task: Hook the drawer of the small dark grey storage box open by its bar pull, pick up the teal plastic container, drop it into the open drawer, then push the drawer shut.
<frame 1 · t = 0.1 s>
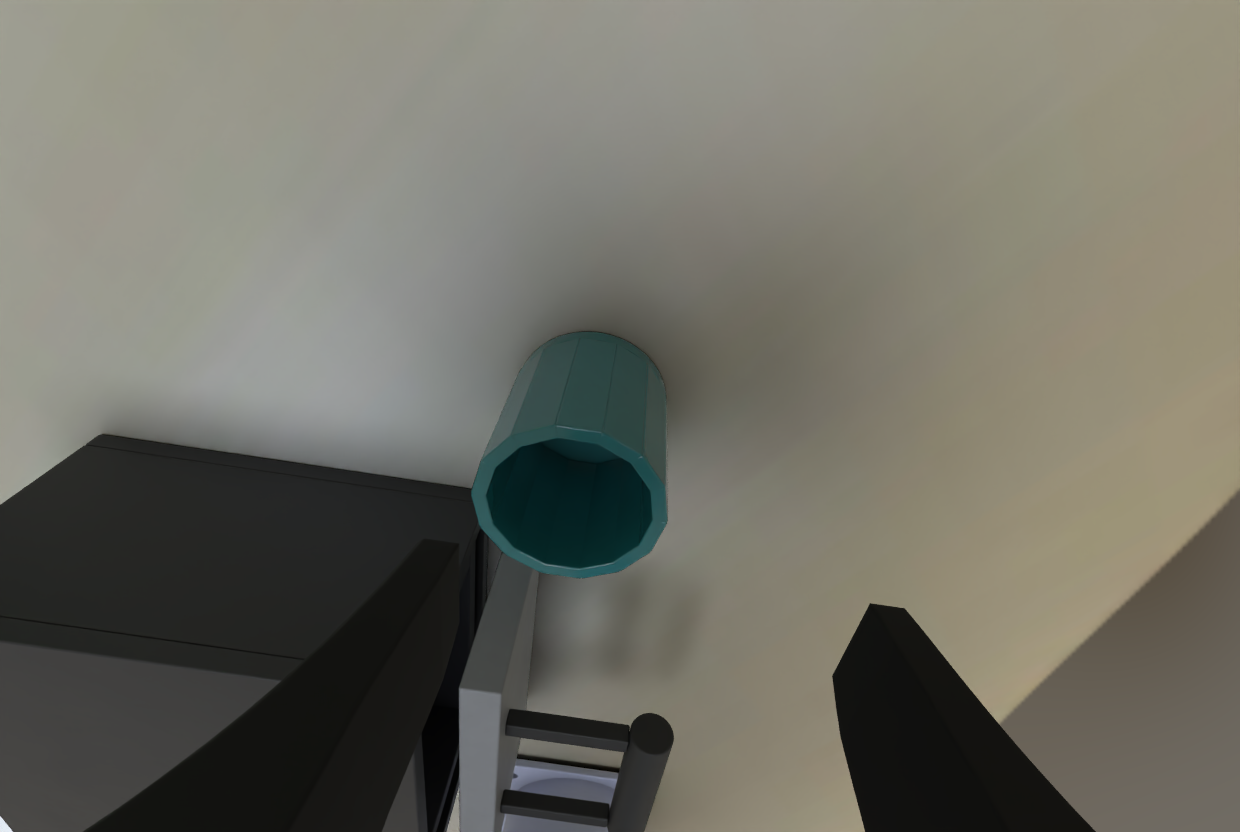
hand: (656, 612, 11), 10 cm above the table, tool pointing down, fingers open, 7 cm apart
drawer: (407, 691, 23), point 4 cm above the table, slide at 1.0 cm
dark grey storage box: (317, 583, 26), on the table
container: (591, 400, 20), on the table
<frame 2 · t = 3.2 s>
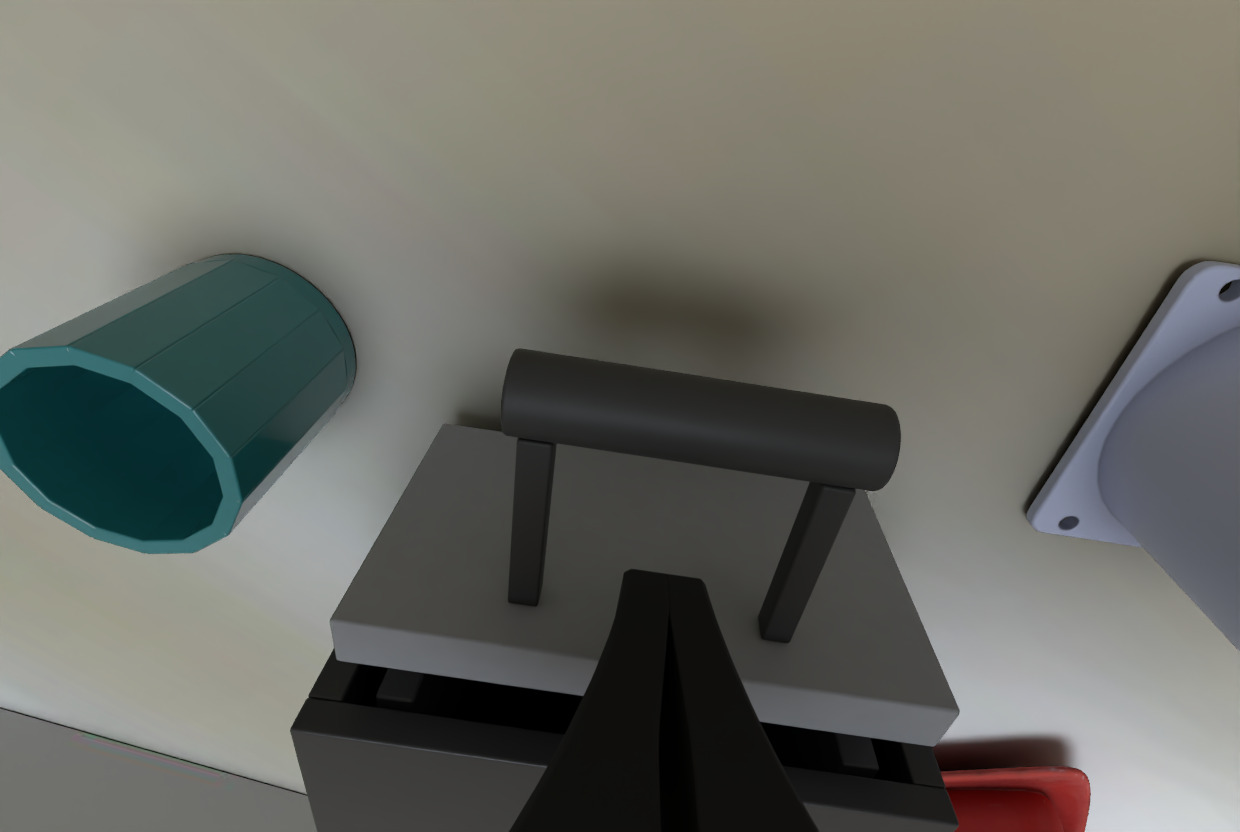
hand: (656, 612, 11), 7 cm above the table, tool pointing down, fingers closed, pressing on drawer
butter dish: (918, 811, 27), on the table
drawer: (626, 651, 16), point 4 cm above the table, slide at 1.0 cm, touching gripper
dark grey storage box: (612, 645, 23), on the table
container: (265, 343, 17), on the table
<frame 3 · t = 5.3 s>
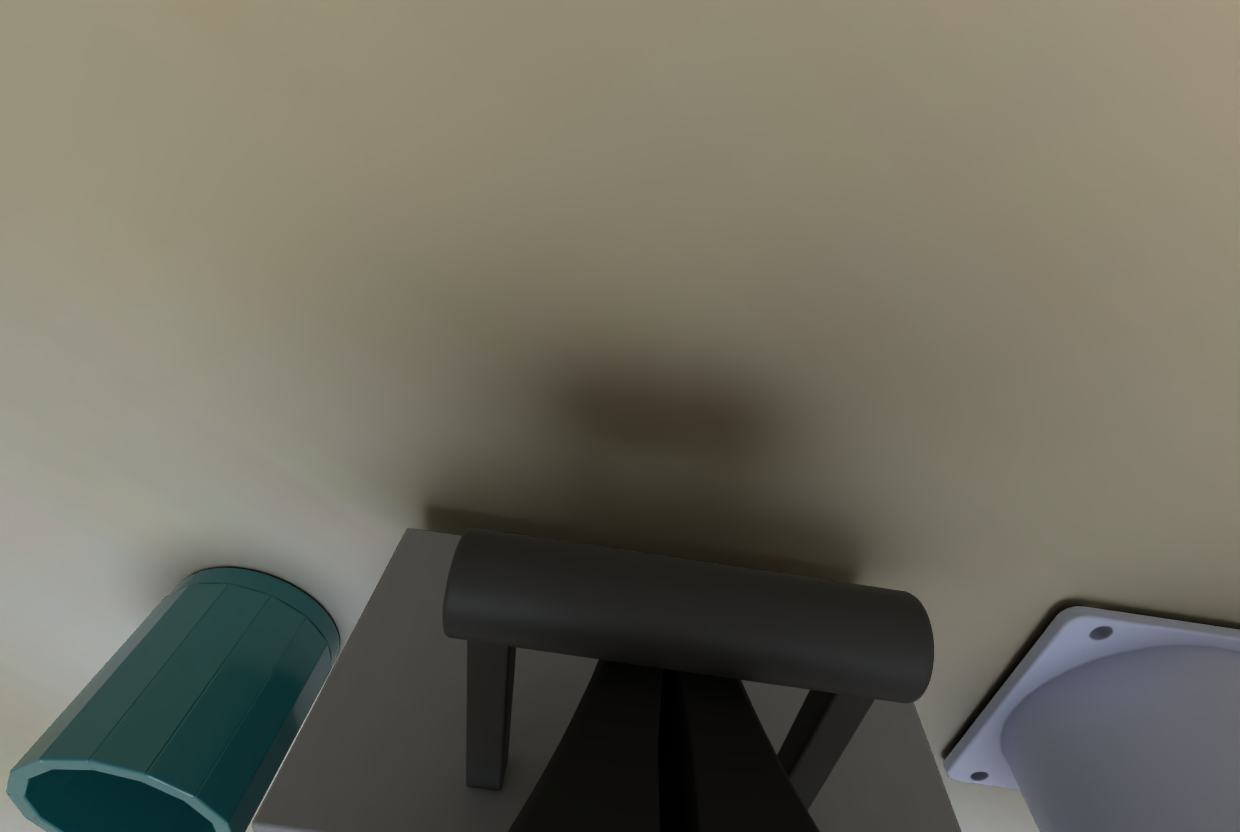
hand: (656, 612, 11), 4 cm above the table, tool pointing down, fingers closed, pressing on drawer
drawer: (611, 786, 14), point 4 cm above the table, slide at 8.0 cm, touching gripper
container: (258, 625, 19), on the table
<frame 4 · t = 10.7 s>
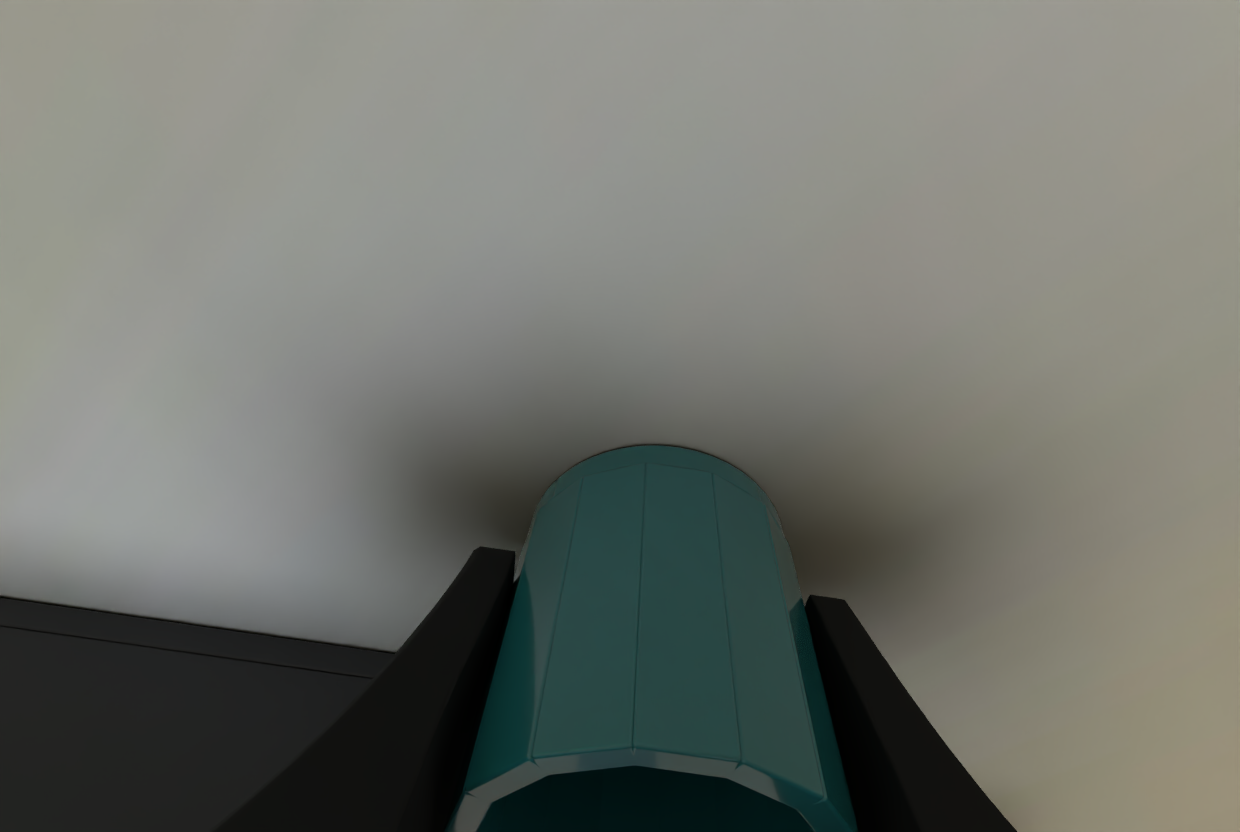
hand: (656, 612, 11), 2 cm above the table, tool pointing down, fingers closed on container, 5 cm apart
dark grey storage box: (237, 768, 18), on the table
container: (655, 547, 12), on the table, touching gripper
when the fingers open (6 cm above the table, at t = 15.6 s): container drops 2 cm, resting on drawer.
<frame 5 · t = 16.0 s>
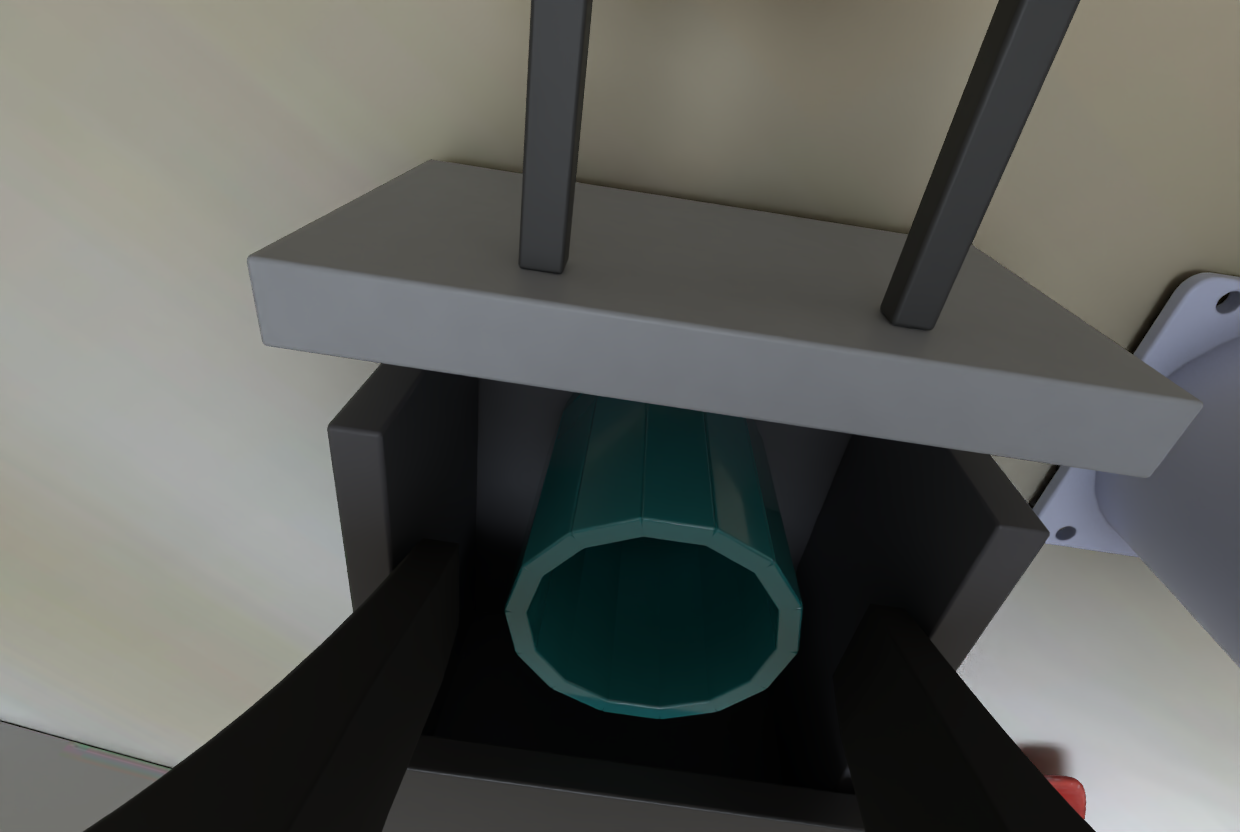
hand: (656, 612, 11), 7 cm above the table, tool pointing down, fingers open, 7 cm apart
butter dish: (915, 819, 27), on the table
drawer: (670, 446, 12), point 4 cm above the table, slide at 8.0 cm, touching container
dark grey storage box: (608, 655, 22), on the table
container: (655, 448, 15), point 2 cm above the table, touching drawer
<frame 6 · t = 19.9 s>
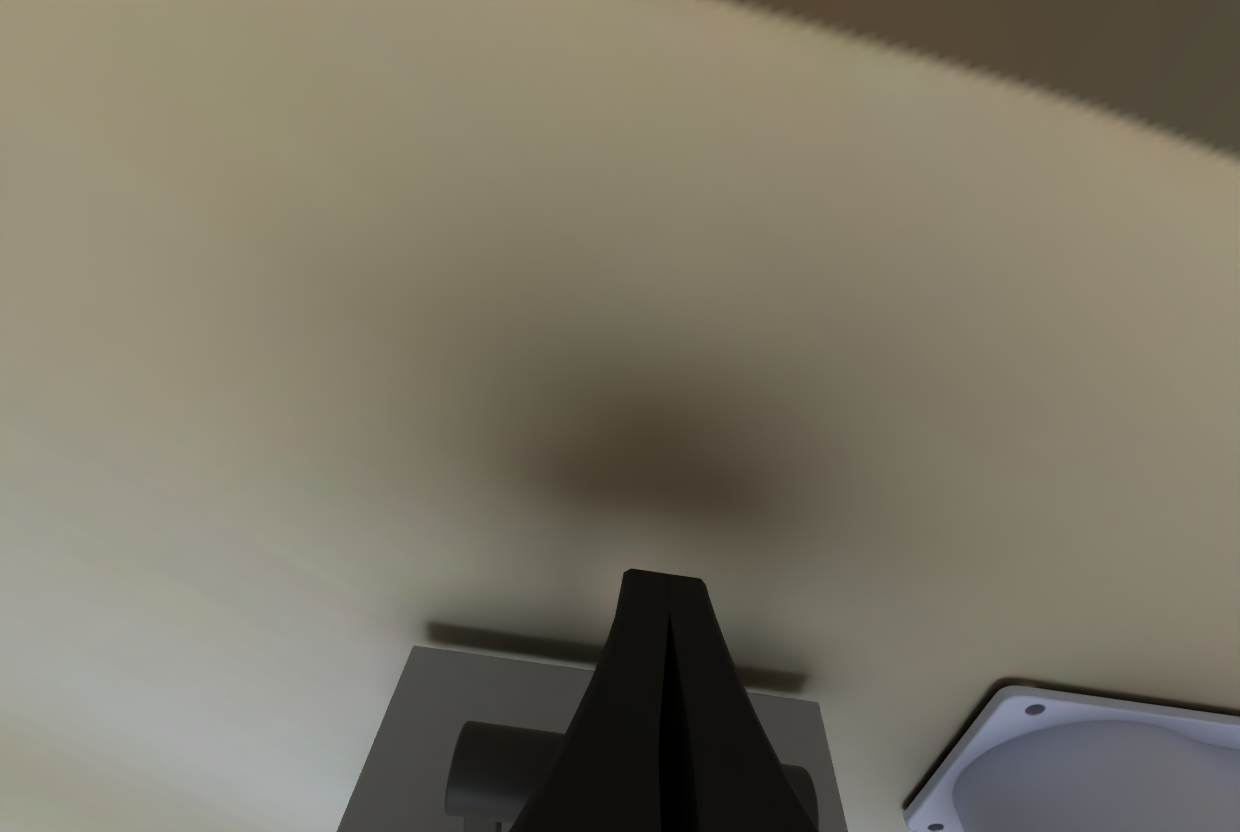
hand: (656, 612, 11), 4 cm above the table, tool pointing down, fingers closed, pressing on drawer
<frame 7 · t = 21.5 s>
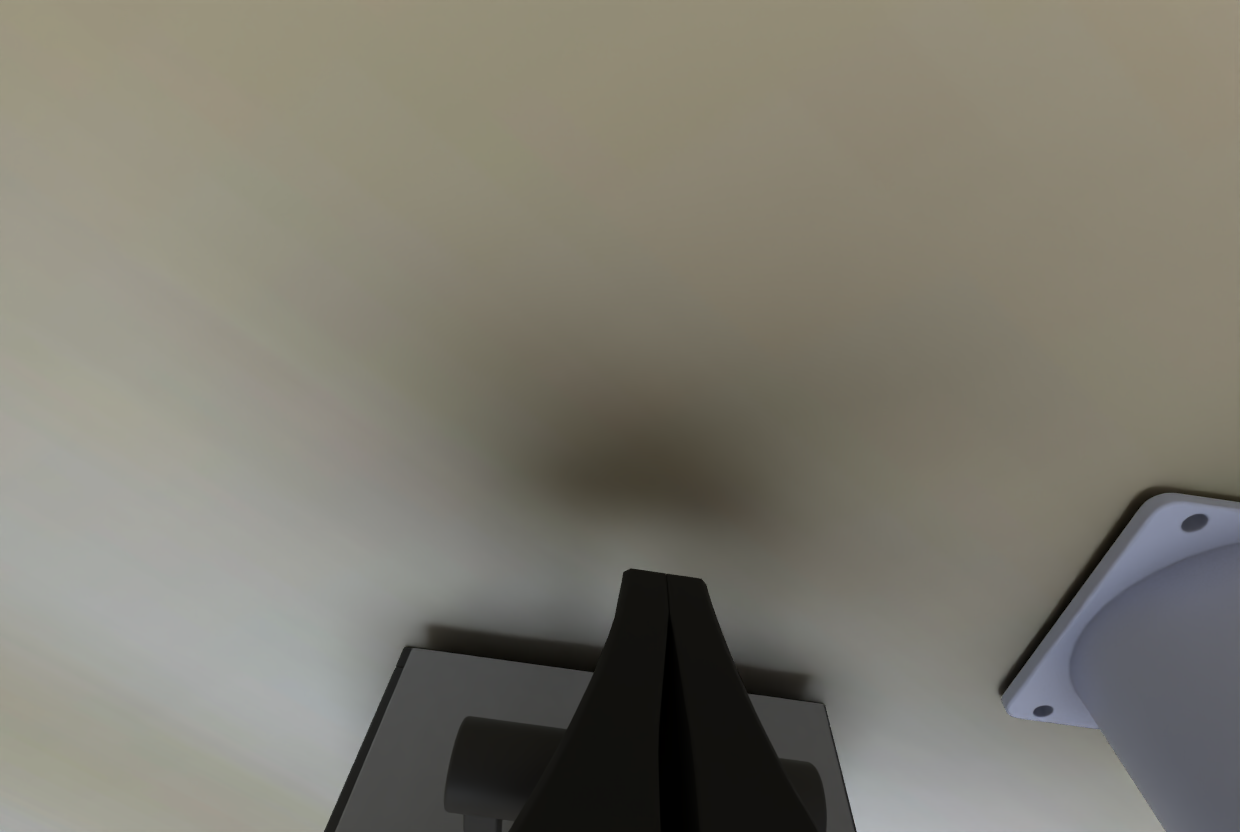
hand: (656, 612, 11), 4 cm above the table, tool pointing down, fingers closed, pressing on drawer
dark grey storage box: (590, 800, 22), on the table
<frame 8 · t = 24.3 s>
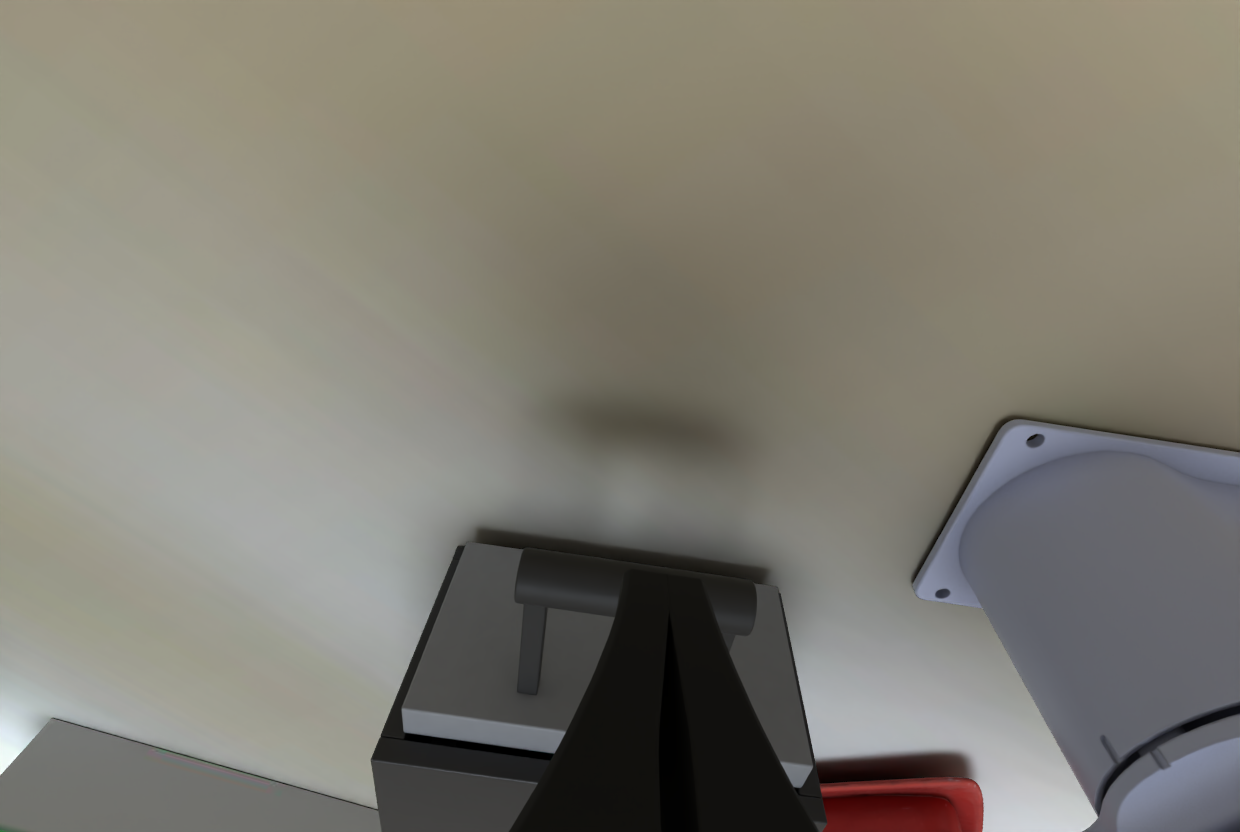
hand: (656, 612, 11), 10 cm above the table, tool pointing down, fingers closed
butter dish: (853, 813, 33), on the table
drawer: (601, 710, 22), point 4 cm above the table, slide at 0.0 cm, touching dark grey storage box, container
dark grey storage box: (598, 680, 28), on the table
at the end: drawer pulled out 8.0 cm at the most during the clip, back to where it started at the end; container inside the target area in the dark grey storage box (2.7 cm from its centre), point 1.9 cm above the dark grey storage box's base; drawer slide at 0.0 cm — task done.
